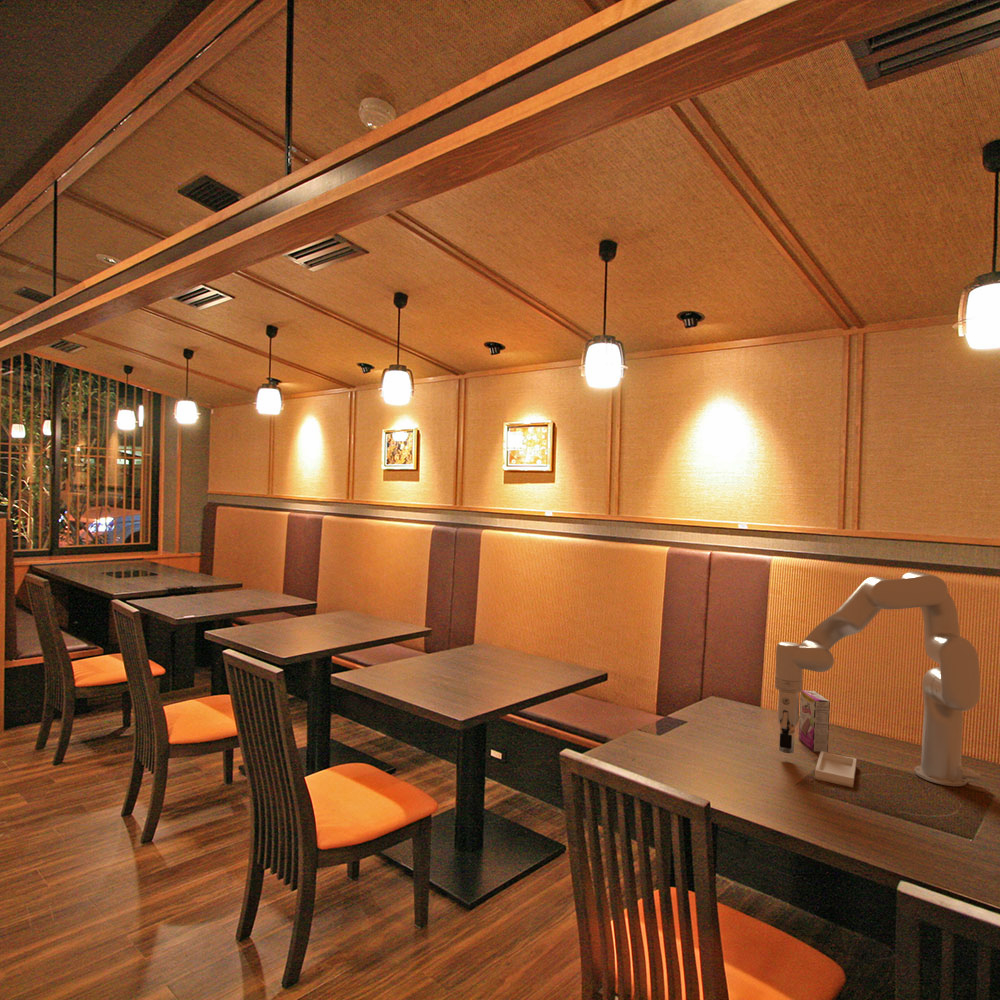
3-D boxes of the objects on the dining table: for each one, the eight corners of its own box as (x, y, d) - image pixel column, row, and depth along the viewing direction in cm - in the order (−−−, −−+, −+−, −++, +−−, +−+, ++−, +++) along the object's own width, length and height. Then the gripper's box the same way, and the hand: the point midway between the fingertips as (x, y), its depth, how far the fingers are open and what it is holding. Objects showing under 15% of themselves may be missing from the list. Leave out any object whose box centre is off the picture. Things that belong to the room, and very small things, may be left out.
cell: (794, 750, 204) (795, 723, 204) (792, 754, 200) (793, 727, 200) (780, 747, 206) (780, 721, 206) (778, 751, 202) (779, 724, 202)
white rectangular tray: (856, 766, 200) (856, 758, 200) (853, 787, 185) (853, 778, 185) (820, 759, 205) (820, 751, 205) (814, 778, 190) (815, 769, 190)
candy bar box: (797, 739, 222) (799, 689, 222) (812, 740, 222) (815, 690, 222) (812, 752, 211) (815, 699, 211) (828, 753, 211) (831, 700, 211)
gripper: (798, 692, 194) (796, 756, 194) (805, 680, 208) (803, 739, 208) (770, 688, 198) (768, 751, 198) (779, 676, 212) (777, 734, 212)
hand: (786, 744), depth 203 cm, fingers closed on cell, 4 cm apart
